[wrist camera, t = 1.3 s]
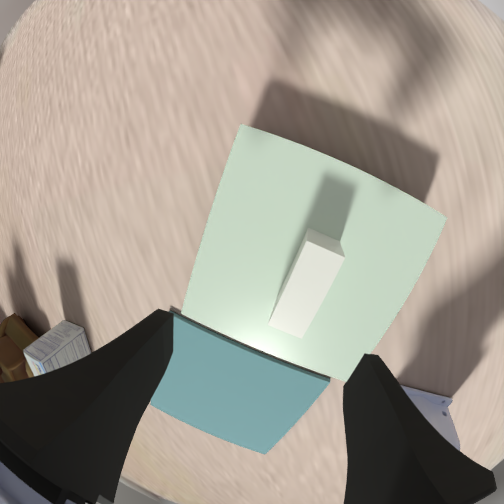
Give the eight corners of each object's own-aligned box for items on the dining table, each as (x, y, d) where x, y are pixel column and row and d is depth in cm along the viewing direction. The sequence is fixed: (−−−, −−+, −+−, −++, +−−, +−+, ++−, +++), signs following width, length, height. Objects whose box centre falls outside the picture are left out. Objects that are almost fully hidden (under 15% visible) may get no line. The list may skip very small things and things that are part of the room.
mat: (330, 378, 22) (330, 382, 22) (265, 451, 28) (265, 454, 27) (170, 310, 24) (167, 313, 23) (152, 402, 29) (150, 404, 29)
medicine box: (64, 318, 29) (21, 349, 21) (85, 327, 28) (39, 362, 20) (79, 363, 32) (43, 395, 24) (100, 373, 31) (64, 409, 23)
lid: (435, 212, 15) (471, 228, 10) (346, 367, 19) (349, 411, 15) (248, 128, 16) (223, 114, 12) (190, 302, 21) (161, 335, 16)
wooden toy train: (70, 403, 39) (24, 450, 23) (35, 372, 40) (-11, 411, 24) (55, 338, 32) (-16, 394, 16) (18, 301, 33) (-48, 342, 17)
